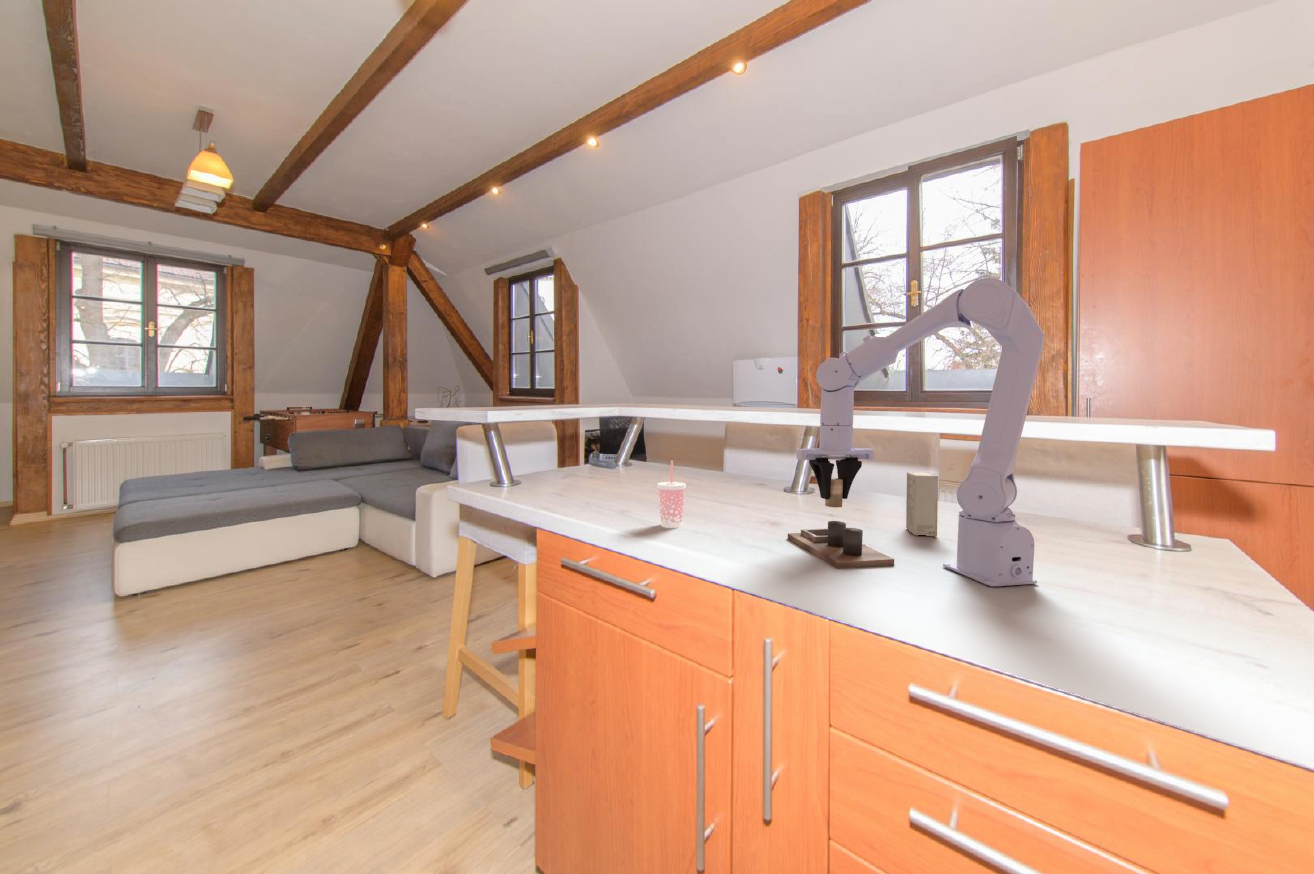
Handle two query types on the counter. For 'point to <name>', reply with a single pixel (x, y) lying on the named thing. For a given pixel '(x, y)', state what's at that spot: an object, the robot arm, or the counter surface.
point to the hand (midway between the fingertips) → (833, 498)
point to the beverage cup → (671, 502)
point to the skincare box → (922, 503)
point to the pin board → (839, 556)
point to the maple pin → (835, 493)
